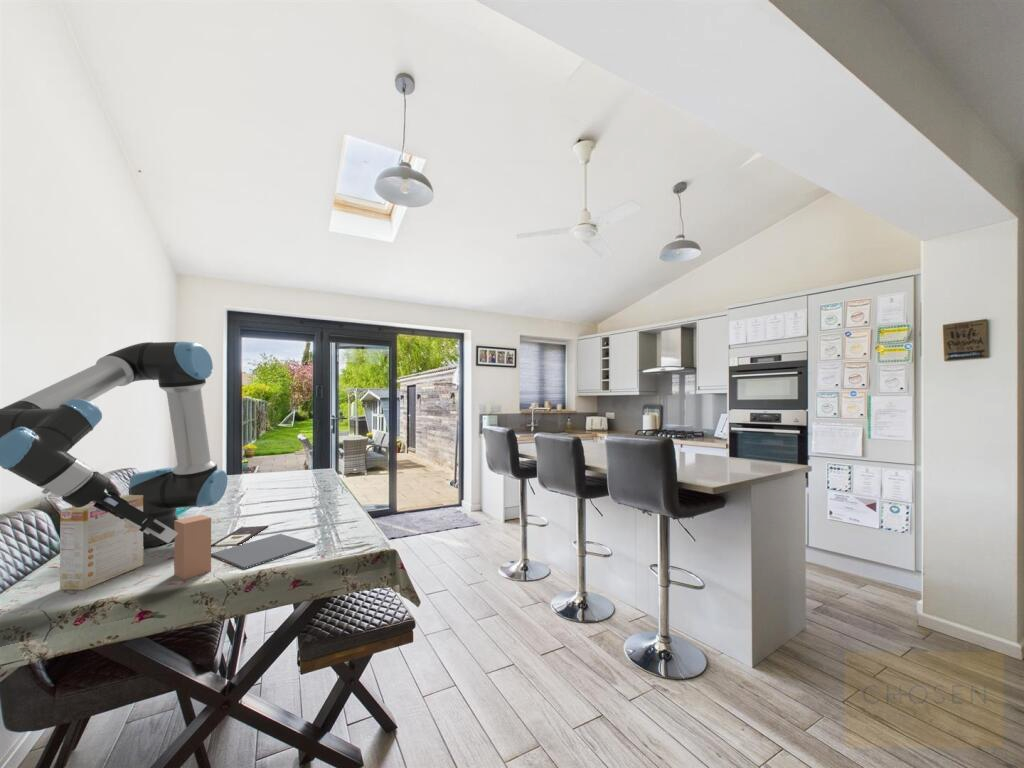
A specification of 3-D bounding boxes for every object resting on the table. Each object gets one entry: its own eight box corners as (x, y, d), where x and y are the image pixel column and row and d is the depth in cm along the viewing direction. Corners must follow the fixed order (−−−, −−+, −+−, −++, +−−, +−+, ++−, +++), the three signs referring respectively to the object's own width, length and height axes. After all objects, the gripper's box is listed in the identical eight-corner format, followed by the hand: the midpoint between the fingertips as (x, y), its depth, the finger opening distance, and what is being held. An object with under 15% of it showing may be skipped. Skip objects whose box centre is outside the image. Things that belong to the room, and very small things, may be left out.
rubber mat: (210, 555, 121) (210, 553, 121) (280, 535, 138) (280, 533, 138) (244, 569, 110) (244, 567, 110) (315, 545, 127) (315, 543, 127)
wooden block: (174, 574, 108) (174, 520, 108) (201, 566, 113) (201, 514, 113) (183, 579, 104) (183, 523, 105) (211, 571, 110) (211, 517, 110)
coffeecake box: (121, 565, 115) (122, 494, 116) (144, 565, 115) (145, 494, 115) (57, 589, 100) (58, 508, 101) (83, 590, 100) (84, 508, 100)
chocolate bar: (268, 525, 147) (241, 543, 129) (268, 528, 147) (241, 546, 129) (241, 527, 146) (210, 545, 128) (241, 530, 146) (210, 548, 128)
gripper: (46, 492, 96) (131, 539, 108) (75, 505, 82) (168, 557, 94) (79, 466, 100) (157, 513, 112) (111, 474, 87) (196, 527, 99)
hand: (162, 533), depth 103 cm, fingers open, 13 cm apart
